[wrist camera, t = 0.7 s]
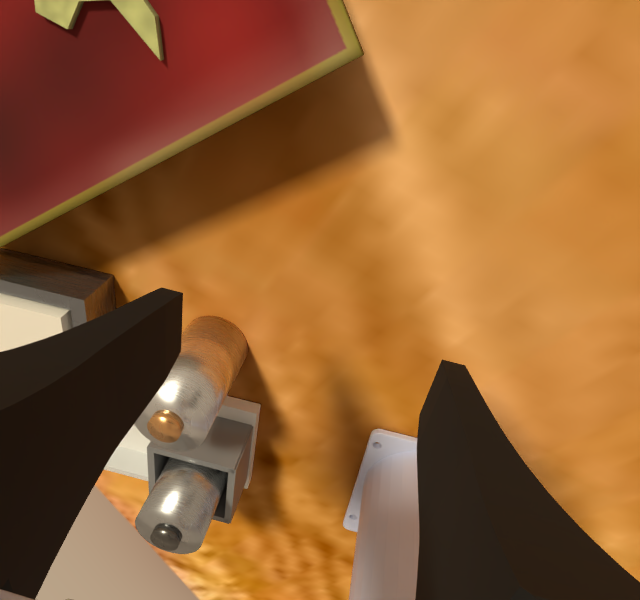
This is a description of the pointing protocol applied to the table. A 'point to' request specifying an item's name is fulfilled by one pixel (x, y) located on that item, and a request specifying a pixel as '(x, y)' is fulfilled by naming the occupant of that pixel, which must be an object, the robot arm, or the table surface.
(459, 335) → the table surface
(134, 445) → the battery holder
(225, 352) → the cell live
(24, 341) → the pad
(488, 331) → the table surface
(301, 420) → the table surface
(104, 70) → the hardcover book
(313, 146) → the table surface
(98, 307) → the cradle
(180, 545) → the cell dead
